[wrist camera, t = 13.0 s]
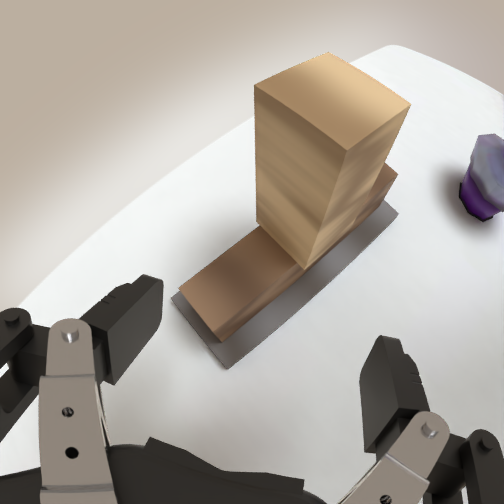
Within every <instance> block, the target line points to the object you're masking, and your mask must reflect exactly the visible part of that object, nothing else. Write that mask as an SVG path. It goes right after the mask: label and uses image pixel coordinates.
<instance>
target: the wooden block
mask: <svg viewBox="0 0 504 504" xmlns="http://www.w3.org/2000/svg"><path fill="white" fill-rule="evenodd" d="M254 106H255V107H254V109H255V165H256V222H257V223H258V224H259V225H260V226H261V227H262V228H263V229H264V230H265V231H266V232H267V233H268V234H269V235H270V236H271V237H272V238H273V239H274V240H275V241H276V242H277V243H278V244H279V245H280V246H281V247H282V248H283V249H284V250H285V251H286V252H287V253H288V254H289V255H290V256H291V257H292V258H293V259H294V260H295V261H296V262H297V263H298V264H299V265H300V266H301V267H302V268H303V269H304V270H305V269H306V268H307V267H308V266H310V265H311V264H312V263H313V262H314V261H315V260H316V259H317V258H318V257H320V256H321V255H322V254H323V253H324V252H325V251H326V250H327V249H328V248H330V247H331V246H332V245H333V244H334V243H335V242H336V241H337V240H338V239H339V238H340V237H342V236H343V235H344V234H345V233H346V232H347V231H348V230H349V229H350V228H351V227H352V225H353V223H354V221H355V219H356V217H357V215H358V214H359V212H360V210H361V208H362V206H363V204H364V202H365V200H366V198H367V196H368V194H369V192H370V190H371V188H372V186H373V184H374V182H375V180H376V178H377V176H378V174H379V172H380V170H381V168H382V166H383V164H384V162H385V160H386V158H387V156H388V154H389V152H390V150H391V148H392V145H393V143H394V141H395V139H396V137H397V135H398V133H399V130H400V128H401V126H402V124H403V122H404V119H405V117H406V115H407V113H408V110H409V108H410V106H411V104H410V103H409V102H408V101H406V100H405V99H403V98H402V97H401V96H399V95H398V94H396V93H395V92H393V91H392V90H390V89H389V88H387V87H386V86H384V85H383V84H381V83H380V82H378V81H377V80H375V79H374V78H372V77H371V76H369V75H367V74H366V73H364V72H362V71H361V70H359V69H357V68H356V67H354V66H352V65H351V64H349V63H347V62H345V61H344V60H342V59H340V58H338V57H336V56H335V55H333V54H331V53H329V52H328V53H325V54H323V55H320V56H318V57H315V58H313V59H310V60H308V61H306V62H303V63H301V64H298V65H296V66H294V67H291V68H289V69H287V70H285V71H282V72H280V73H278V74H276V75H274V76H272V77H270V78H267V79H265V80H263V81H261V82H259V83H257V84H255V85H254Z"/></svg>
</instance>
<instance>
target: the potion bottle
mask: <svg viewBox="0 0 504 504" xmlns="http://www.w3.org/2000/svg"><path fill="white" fill-rule="evenodd" d="M470 160H471V162H470V165H469V167H468V170H467V172H466V175H465V177H464V179H463V182H462V183H460V190H459V198H460V199H461V201H462V203H463V205H464V206H465V208H466V210H467V212H468V213H469V214H470V215H472V216H474V217H475V218H477V219H479V220H480V221H482V222H484V221H486V220H489V219H491V218H493V215H495V214H497V213H499V212H501V211H502V212H504V140H503V139H502V138H500V137H499V136H497V135H496V134H487V135H478V138H477V141H476V144H475V147H474V149H473V152H472V155H471V157H470Z"/></svg>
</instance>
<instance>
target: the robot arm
mask: <svg viewBox="0 0 504 504" xmlns="http://www.w3.org/2000/svg"><path fill="white" fill-rule="evenodd" d="M163 286H164V285H163V281H162V280H161V279H158V278H154V277H151V276H148V275H145V274H143V275H141V276H140V277H139V278H138V279H137V280H135V281H134V282H133V283H132V284H130V283H126V284H123V285H121V286H118V287H116V288H114V289H113V290H112V291H111V292H110V293H108V295H107V296H105V297H104V298H103V299H101V302H100V301H99V302H98V303H97V304H95V305H94V306H93V307H92V308H91V309H90V310H88V311H87V312H86V313H85V314H84V315H83V316H82V317H80V318H79V319H73V318H70V319H63V320H60V321H58V322H56V323H55V324H54V325H52V327H51V328H49V327H44V326H39V325H35V324H32V321H31V316H30V314H29V313H28V312H27V311H26V310H24V309H21V308H10V309H6V310H4V311H2V312H0V369H1V368H2V367H3V366H4V365H5V364H6V363H7V364H8V367H9V369H8V370H7V371H6V372H5V373H4V375H3V376H2V377H1V378H0V442H1V441H2V440H3V438H4V437H5V436H6V435H7V433H8V432H9V431H10V429H11V428H12V427H13V425H14V424H15V423H16V422H17V420H18V419H19V418H20V417H21V415H22V414H23V413H24V411H25V410H26V409H27V408H28V407H29V405H30V404H31V403H32V402H33V400H34V399H35V398H36V397H37V395H38V394H39V449H40V463H41V467H38V468H34V469H30V470H26V471H22V472H17V473H13V474H8V475H4V476H0V504H327V503H326V502H324V501H323V500H322V499H320V498H319V497H317V496H315V495H313V494H311V493H309V492H307V491H305V490H303V487H304V479H298V478H292V477H286V476H281V475H276V474H271V473H261V472H230V471H223V470H220V469H218V468H216V467H214V466H213V465H211V464H209V463H207V462H205V461H204V460H202V459H200V458H198V457H197V456H195V455H193V454H191V453H190V452H188V451H186V450H184V449H181V448H178V447H175V446H172V445H170V444H167V443H164V442H162V441H159V440H157V439H154V438H151V437H150V438H149V439H148V441H147V443H146V445H145V446H143V445H133V444H122V445H113V446H112V445H111V441H110V437H109V433H108V428H107V423H106V417H105V411H104V405H103V399H102V392H101V387H100V384H101V383H102V382H103V381H105V382H107V383H110V384H112V385H115V384H116V383H117V381H118V380H119V379H120V377H121V376H122V375H123V373H124V372H125V371H126V369H127V368H128V367H129V366H130V364H131V363H132V362H133V360H134V359H135V358H136V356H137V355H138V354H139V353H140V351H141V350H142V349H143V347H144V346H145V345H146V344H147V342H148V341H149V340H150V339H151V337H152V336H153V335H154V333H155V332H156V331H157V329H158V327H159V325H160V322H161V319H162V306H163ZM421 383H422V382H421V378H420V376H419V372H418V369H417V366H416V364H415V362H414V361H413V360H412V359H411V357H410V356H409V355H408V354H404V351H403V348H402V345H401V342H400V340H399V339H396V338H392V337H387V336H382V335H380V336H379V337H378V338H377V339H376V341H375V343H374V345H373V348H372V350H371V352H370V354H369V356H368V358H367V360H366V362H365V364H364V366H363V368H362V370H361V374H360V380H359V384H360V395H361V406H362V419H363V435H364V452H366V453H376V462H375V463H374V465H373V466H372V467H371V468H370V469H369V470H368V471H367V473H366V474H365V475H364V476H363V477H362V478H361V479H360V480H359V481H358V482H357V483H356V485H355V486H354V487H353V488H352V489H351V490H350V491H349V492H348V493H347V494H346V495H345V496H344V497H343V498H342V499H341V500H340V501H339V502H338V503H337V504H418V502H419V501H420V499H421V497H422V496H423V504H463V499H462V492H461V489H463V488H464V487H465V486H466V489H467V496H468V504H504V458H503V454H502V451H501V448H500V444H499V442H498V440H497V439H496V437H495V436H494V435H493V434H491V433H490V432H488V431H486V430H482V429H479V430H475V431H474V432H473V433H472V434H471V435H470V436H469V437H468V438H467V439H466V438H463V437H460V436H457V435H454V434H451V433H450V431H449V427H448V425H447V423H446V422H445V421H444V419H442V418H441V417H440V416H439V415H437V414H435V413H432V412H430V409H429V405H428V402H427V398H426V395H425V391H424V388H423V385H422V384H421Z"/></svg>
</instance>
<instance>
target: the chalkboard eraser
mask: <svg viewBox="0 0 504 504" xmlns="http://www.w3.org/2000/svg"><path fill="white" fill-rule="evenodd" d="M397 175H398V174H397V173H396V172H395V171H394V170H393V169H392V168H391V167H389V166H388V165H387V164H386V163H385V162H384V164H383V166H382V168H381V170H380V172H379V174H378V176H377V178H376V180H375V182H374V184H373V186H372V188H371V190H370V192H369V194H368V196H367V198H366V200H365V202H364V204H363V206H362V208H361V210H360V212H359V214H358V215H357V217H356V219H355V221H354V223H353V225H352V227H351V228H350V229H349V230H348V231H347V232H346V233H345V234H344V235H343V236H342V237H340V238H339V239H338V240H337V241H336V242H335V243H334V244H333V245H332V246H331V247H330V248H328V249H327V250H326V251H325V252H324V253H323V254H322V255H321V256H320V257H318V258H317V259H316V260H315V261H314V262H313V263H312V264H311V265H310V266H308V267H307V268H306V269H305V270H304V269H303V268H302V267H301V266H300V265H299V264H298V263H297V262H296V261H295V260H294V259H293V258H292V257H291V256H290V255H289V254H288V253H287V252H286V251H285V250H284V249H283V248H282V247H281V246H280V245H279V244H278V243H277V242H276V241H275V240H274V239H273V238H272V237H271V236H270V235H269V234H268V233H267V232H266V231H265V230H264V229H263V228H262V227H261V226H258V227H257V228H256V229H255V230H253V231H252V232H251V233H249V234H248V235H247V236H245V237H244V238H243V239H241V240H240V241H239V242H237V243H236V244H235V245H234V246H232V247H231V248H230V249H228V250H227V251H226V252H224V253H223V254H222V255H220V256H219V257H218V258H217V259H215V260H214V261H213V262H211V263H210V264H209V265H208V266H206V267H205V268H204V269H202V270H201V271H200V272H198V273H197V274H196V275H195V276H193V277H192V278H191V279H189V280H188V281H187V282H186V283H184V284H183V285H182V286H180V287H179V288H178V289H179V290H180V291H179V292H178V293H176V294H175V295H174V296H173V297H171V299H172V301H173V302H174V303H175V305H176V306H177V307H178V308H179V310H180V311H181V312H182V314H183V315H184V316H185V318H186V319H187V320H188V322H189V323H190V324H191V325H192V327H193V328H194V329H195V330H196V332H197V333H198V334H199V336H200V337H201V338H202V339H203V341H204V342H205V343H206V344H207V346H208V347H209V348H210V349H211V350H212V352H213V353H214V354H215V355H216V357H217V358H218V359H219V360H220V361H221V363H222V364H223V365H224V366H225V367H226V369H229V368H230V367H232V366H233V365H234V364H235V363H237V362H238V361H239V360H240V359H242V358H243V357H244V356H245V355H246V354H248V353H249V352H250V351H251V350H253V349H254V348H255V347H256V346H257V345H259V344H260V343H261V342H262V341H263V340H265V339H266V338H267V337H268V336H269V335H271V334H272V333H273V332H274V331H275V330H276V329H278V328H279V327H280V326H281V325H282V324H283V323H285V322H286V321H287V320H288V319H289V318H290V317H292V316H293V315H294V314H295V313H296V312H297V311H298V310H300V309H301V308H302V307H303V306H304V305H305V304H306V303H307V302H309V301H310V300H311V299H312V298H313V297H314V296H315V295H316V294H317V293H319V292H320V291H321V290H322V289H323V288H324V287H325V286H326V285H327V284H328V283H329V282H331V281H332V280H333V279H334V278H335V277H336V276H337V275H338V274H339V273H340V272H341V271H342V270H343V269H345V268H346V267H347V266H348V265H349V264H350V263H351V262H352V261H353V260H354V259H355V258H356V257H357V256H358V255H359V254H360V253H361V252H362V251H363V250H364V249H365V248H366V247H367V246H368V245H369V244H371V243H372V242H373V241H374V240H375V239H376V238H377V237H378V236H379V235H380V234H381V233H382V232H383V231H384V230H385V229H386V228H387V227H388V226H389V225H390V224H391V223H392V222H393V221H394V219H395V218H396V217H397V216H398V214H399V213H397V212H396V211H395V210H394V209H393V208H392V207H391V206H390V205H389V204H388V203H387V202H386V201H385V200H384V198H385V196H386V194H387V193H388V191H389V189H390V187H391V186H392V184H393V182H394V181H395V179H396V177H397Z"/></svg>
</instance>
